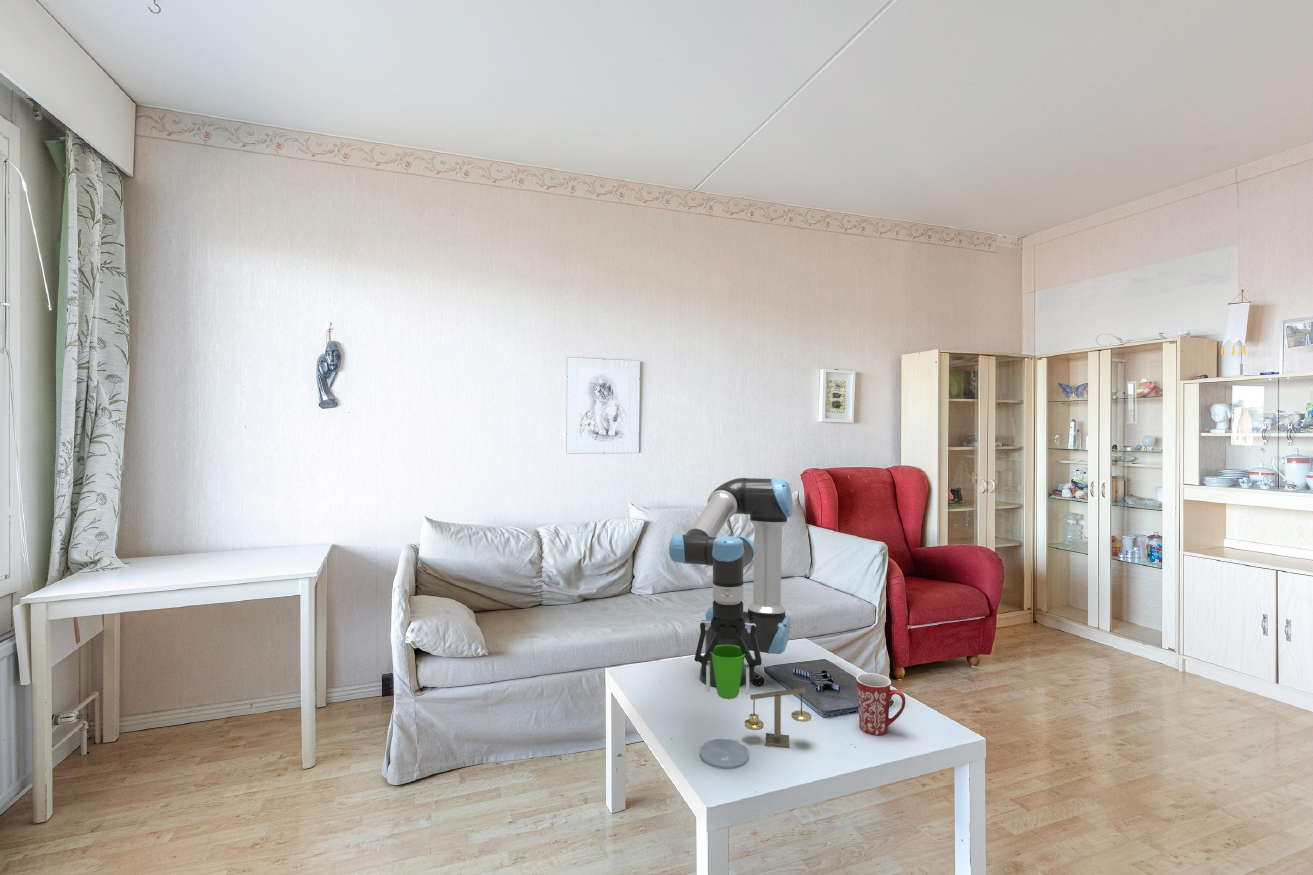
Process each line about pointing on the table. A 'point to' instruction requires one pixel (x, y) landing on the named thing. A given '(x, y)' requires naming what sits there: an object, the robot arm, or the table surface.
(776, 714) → the balance
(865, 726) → the mug
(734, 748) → the dish
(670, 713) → the table surface
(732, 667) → the cup
